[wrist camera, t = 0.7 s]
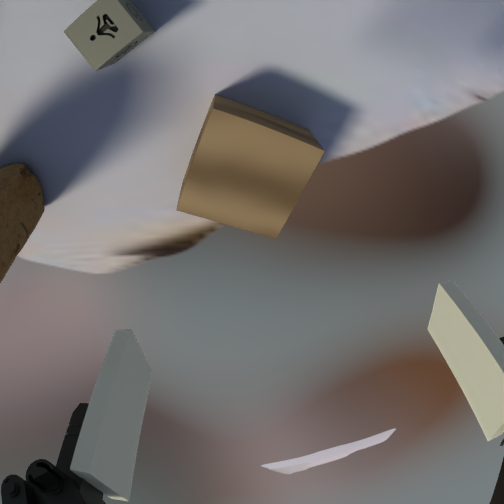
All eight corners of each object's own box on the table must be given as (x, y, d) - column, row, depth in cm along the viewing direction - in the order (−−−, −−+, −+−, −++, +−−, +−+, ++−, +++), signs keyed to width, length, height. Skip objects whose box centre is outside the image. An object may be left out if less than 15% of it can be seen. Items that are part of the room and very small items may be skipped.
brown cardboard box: (215, 93, 28) (213, 108, 23) (308, 129, 31) (324, 151, 26) (183, 180, 33) (176, 210, 29) (268, 206, 36) (275, 239, 32)
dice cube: (155, 31, 23) (143, 32, 19) (113, 63, 24) (95, 71, 20) (127, -5, 20) (109, -10, 16) (86, 28, 21) (63, 31, 18)
